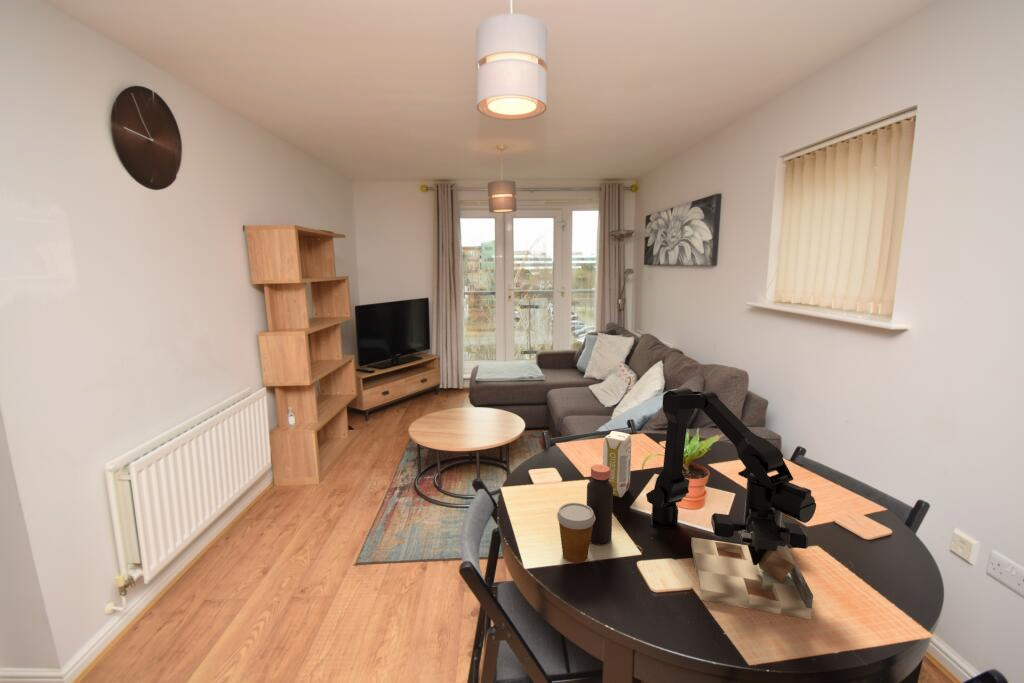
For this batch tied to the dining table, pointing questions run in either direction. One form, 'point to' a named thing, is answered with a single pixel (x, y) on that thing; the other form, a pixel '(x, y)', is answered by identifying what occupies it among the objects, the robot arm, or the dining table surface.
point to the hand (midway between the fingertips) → (754, 564)
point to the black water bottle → (600, 504)
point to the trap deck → (747, 580)
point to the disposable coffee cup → (575, 531)
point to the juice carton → (618, 460)
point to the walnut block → (776, 563)
